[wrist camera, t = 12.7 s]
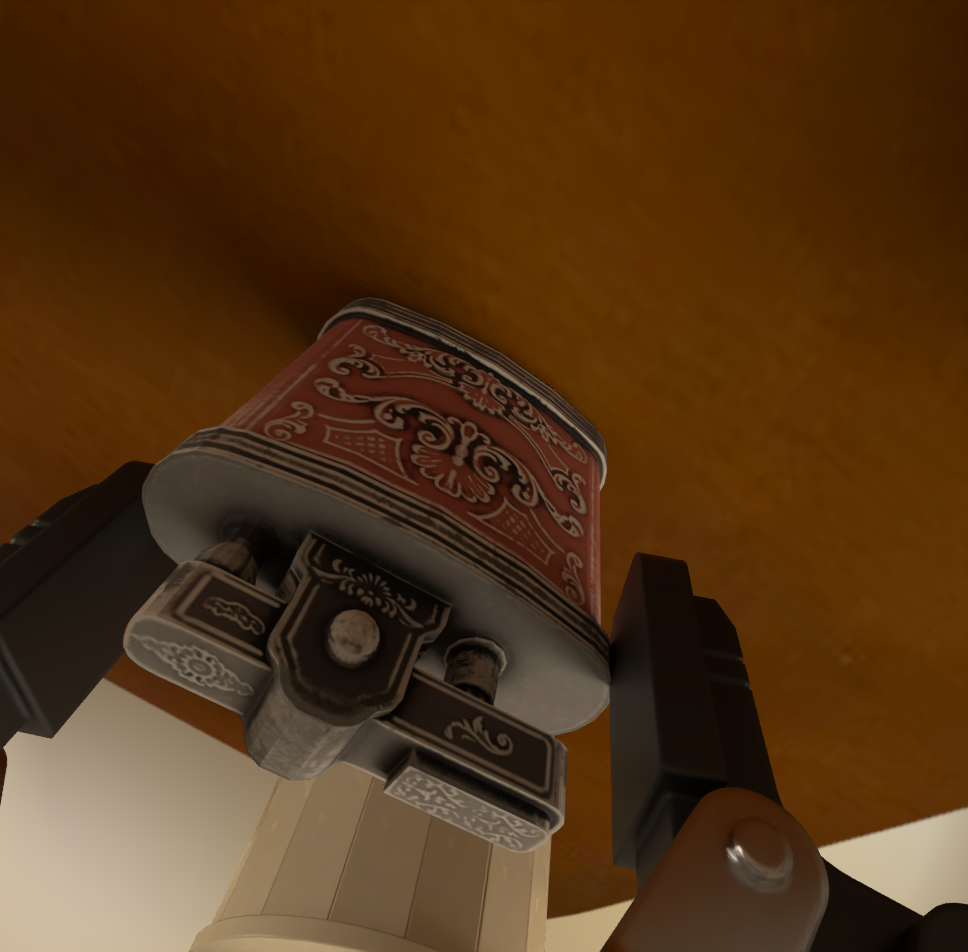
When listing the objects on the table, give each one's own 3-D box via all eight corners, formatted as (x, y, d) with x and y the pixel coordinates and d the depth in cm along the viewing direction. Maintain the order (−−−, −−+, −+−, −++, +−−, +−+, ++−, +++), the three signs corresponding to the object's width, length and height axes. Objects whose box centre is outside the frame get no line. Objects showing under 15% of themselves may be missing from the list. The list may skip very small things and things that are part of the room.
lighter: (309, 375, 16) (-9, 685, 7) (356, 264, 14) (5, 512, 6) (561, 519, 17) (527, 923, 9) (634, 434, 15) (680, 842, 7)
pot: (576, 676, 21) (565, 978, 14) (535, 813, 26) (512, 1081, 19) (313, 624, 21) (175, 886, 14) (326, 768, 27) (229, 1010, 20)
